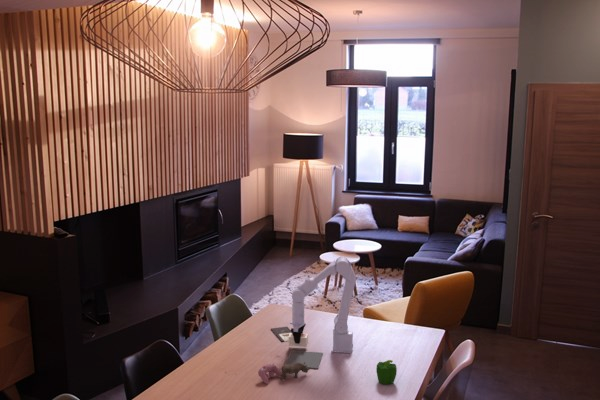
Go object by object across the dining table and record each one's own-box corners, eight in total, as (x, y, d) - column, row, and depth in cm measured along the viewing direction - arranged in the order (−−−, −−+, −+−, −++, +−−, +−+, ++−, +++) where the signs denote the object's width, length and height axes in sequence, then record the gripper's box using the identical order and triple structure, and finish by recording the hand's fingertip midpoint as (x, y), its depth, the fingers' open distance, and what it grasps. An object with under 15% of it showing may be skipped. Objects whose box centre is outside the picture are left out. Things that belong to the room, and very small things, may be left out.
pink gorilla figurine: (276, 377, 242) (270, 362, 243) (283, 375, 239) (277, 359, 240) (260, 386, 234) (254, 369, 235) (267, 384, 231) (262, 367, 232)
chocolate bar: (287, 326, 297) (298, 338, 280) (287, 328, 297) (298, 340, 280) (270, 328, 294) (281, 340, 277) (270, 330, 294) (281, 342, 277)
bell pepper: (371, 382, 234) (372, 359, 233) (383, 376, 240) (384, 353, 239) (387, 389, 229) (388, 365, 227) (399, 382, 234) (400, 359, 233)
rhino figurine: (312, 376, 240) (312, 362, 239) (281, 381, 235) (281, 367, 235) (309, 372, 244) (309, 358, 243) (278, 376, 239) (278, 363, 238)
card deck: (308, 342, 271) (308, 333, 270) (306, 346, 266) (306, 337, 265) (290, 341, 272) (290, 332, 272) (288, 345, 267) (288, 336, 267)
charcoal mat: (323, 353, 263) (323, 352, 263) (317, 369, 247) (317, 368, 247) (291, 351, 266) (291, 350, 266) (284, 366, 249) (284, 365, 249)
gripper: (292, 308, 275) (292, 334, 277) (287, 318, 261) (287, 346, 262) (307, 308, 274) (307, 335, 275) (302, 319, 259) (302, 347, 261)
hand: (298, 341), depth 269 cm, fingers closed on card deck, 5 cm apart
